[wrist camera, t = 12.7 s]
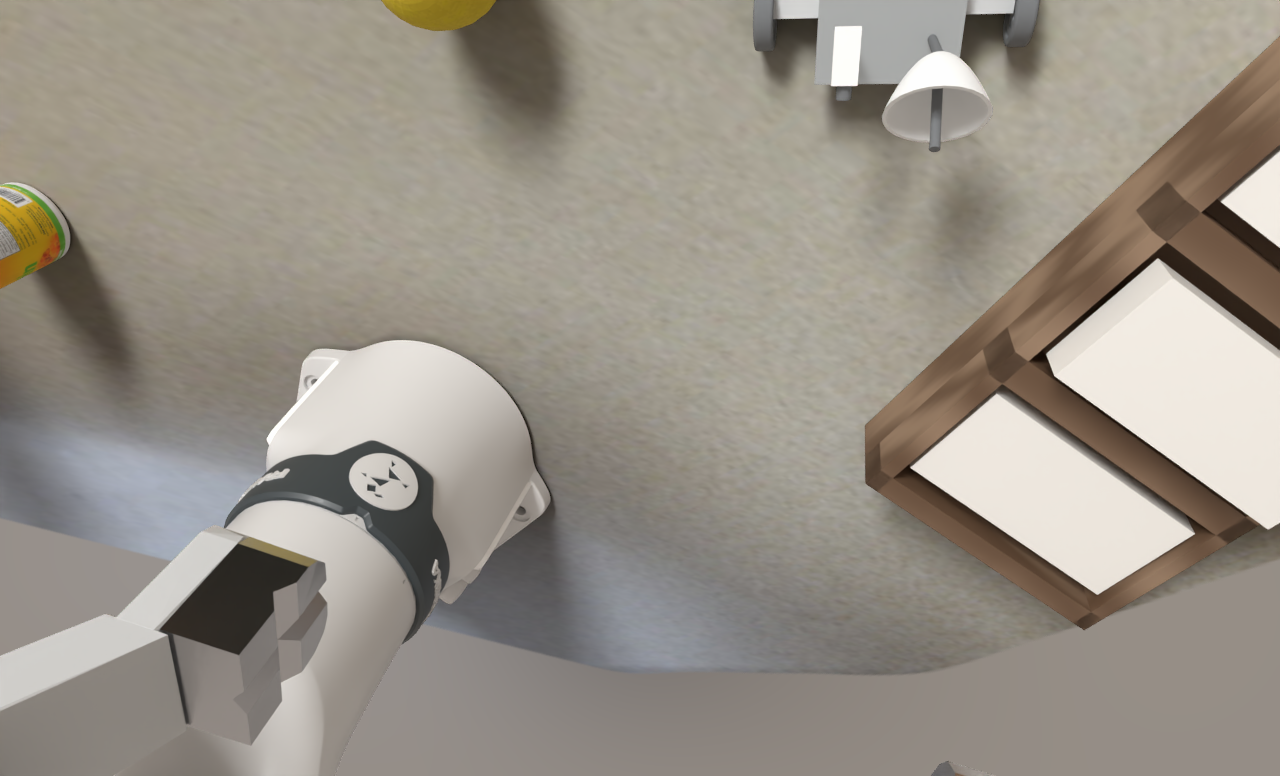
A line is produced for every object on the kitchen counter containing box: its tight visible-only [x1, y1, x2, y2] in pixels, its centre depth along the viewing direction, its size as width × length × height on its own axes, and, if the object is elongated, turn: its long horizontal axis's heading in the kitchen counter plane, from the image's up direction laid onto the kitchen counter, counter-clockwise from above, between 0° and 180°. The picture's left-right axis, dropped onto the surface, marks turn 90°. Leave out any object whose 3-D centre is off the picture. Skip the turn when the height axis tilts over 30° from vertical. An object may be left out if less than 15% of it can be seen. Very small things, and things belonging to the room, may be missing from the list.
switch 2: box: [1046, 259, 1280, 529], centre depth 37 cm, size 6×13×2 cm, turn 57°
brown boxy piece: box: [865, 36, 1280, 630], centre depth 40 cm, size 28×16×6 cm, turn 147°
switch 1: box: [910, 384, 1195, 595], centre depth 43 cm, size 6×13×2 cm, turn 57°
